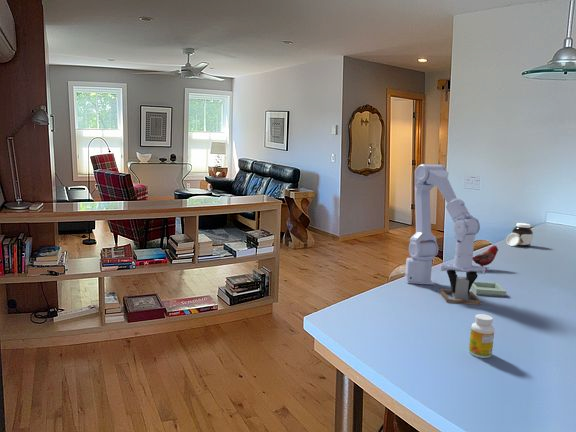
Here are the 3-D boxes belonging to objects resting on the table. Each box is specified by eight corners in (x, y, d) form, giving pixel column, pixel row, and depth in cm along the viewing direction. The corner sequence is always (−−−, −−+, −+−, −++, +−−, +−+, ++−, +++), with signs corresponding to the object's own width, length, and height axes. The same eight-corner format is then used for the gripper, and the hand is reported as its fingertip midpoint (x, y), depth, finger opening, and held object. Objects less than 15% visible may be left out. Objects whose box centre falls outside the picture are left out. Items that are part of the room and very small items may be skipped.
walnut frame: (446, 302, 157) (446, 299, 156) (439, 291, 167) (439, 289, 167) (480, 304, 156) (481, 301, 155) (471, 294, 166) (471, 291, 166)
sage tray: (476, 294, 166) (476, 289, 165) (468, 286, 176) (468, 280, 175) (505, 296, 165) (506, 291, 165) (496, 288, 175) (496, 282, 174)
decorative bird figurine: (499, 269, 202) (501, 246, 201) (466, 271, 196) (468, 248, 194) (493, 267, 205) (496, 244, 203) (461, 269, 198) (463, 246, 197)
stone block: (454, 299, 160) (456, 279, 159) (451, 295, 164) (453, 276, 163) (466, 300, 159) (469, 280, 158) (463, 296, 163) (465, 276, 162)
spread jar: (532, 245, 254) (534, 224, 252) (529, 249, 244) (532, 227, 243) (507, 242, 260) (510, 221, 258) (504, 245, 251) (507, 224, 249)
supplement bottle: (464, 349, 121) (468, 312, 120) (484, 349, 122) (489, 312, 120) (474, 358, 116) (478, 320, 114) (495, 358, 116) (500, 321, 115)
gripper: (444, 254, 156) (440, 294, 158) (490, 257, 154) (485, 297, 157) (439, 250, 163) (436, 288, 165) (483, 252, 161) (479, 291, 164)
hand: (459, 292), depth 161 cm, fingers closed on stone block, 4 cm apart
